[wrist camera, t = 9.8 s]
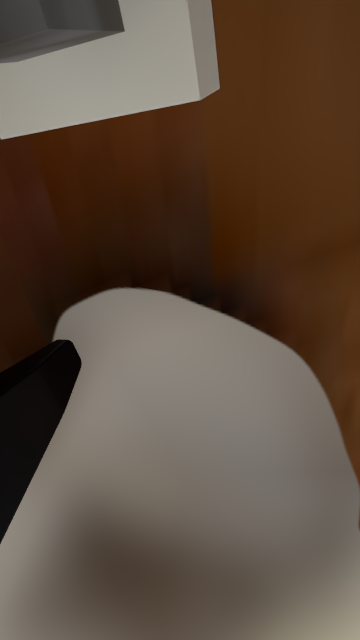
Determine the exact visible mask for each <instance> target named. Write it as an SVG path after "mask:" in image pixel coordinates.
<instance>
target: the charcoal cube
mask: <svg viewBox="0 0 360 640" xmlns="http://www.w3.org/2000/svg"><path fill="white" fill-rule="evenodd" d="M121 32H125V29H124V24H123V20H122V15H121V11H120V6H119V1H118V0H0V63H11V62H19V61H23V60H26V59H30V58H33V57H37V56H40V55H44V54H47V53H51V52H54V51H58V50H61V49H65V48H68V47H72V46H75V45H79V44H82V43H86V42H89V41H93V40H96V39H100V38H103V37H107V36H110V35H114V34H118V33H121Z"/></svg>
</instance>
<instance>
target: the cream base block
mask: <svg viewBox="0 0 360 640" xmlns="http://www.w3.org/2000/svg"><path fill="white" fill-rule="evenodd" d="M118 1H119V6H120V11H121V15H122V20H123V24H124V29H125V32H121V33H118V34H114V35H110V36H107V37H103V38H100V39H96V40H93V41H89V42H86V43H82V44H79V45H75V46H72V47H68V48H65V49H61V50H58V51H54V52H51V53H47V54H44V55H40V56H37V57H33V58H30V59H26V60H23V61H19V62H11V63H0V138H1V139H6V138H11V137H16V136H21V135H26V134H31V133H36V132H41V131H46V130H51V129H57V128H62V127H67V126H72V125H77V124H82V123H87V122H92V121H97V120H102V119H107V118H112V117H117V116H122V115H127V114H132V113H137V112H142V111H147V110H153V109H158V108H163V107H168V106H173V105H178V104H183V103H188V102H193V101H198V100H201V99H203V98H205V97H206V96H208V95H210V94H211V93H213V92H215V91H216V90H218V89H220V85H219V75H218V65H217V54H216V44H215V34H214V24H213V14H212V4H211V0H118Z"/></svg>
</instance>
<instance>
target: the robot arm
mask: <svg viewBox="0 0 360 640" xmlns="http://www.w3.org/2000/svg"><path fill="white" fill-rule="evenodd" d="M80 368H81V359H80V357H79V355H78V353H77V351H76V349H75V347H74V345H73V343H72V342H71V341H70V340H56V341H54V342H52V343H50V344H49V345H47V346H45V347H44V348H42V349H40V350H38V351H37V352H35V353H33V354H32V355H30V356H28V357H27V358H25V359H23V360H21V361H20V362H18V363H16V364H15V365H13V366H11V367H9V368H8V369H6V370H4V371H3V372H1V373H0V544H1V541H2V539H3V537H4V535H5V533H6V531H7V529H8V527H9V525H10V523H11V521H12V519H13V517H14V515H15V513H16V511H17V509H18V506H19V504H20V502H21V500H22V498H23V496H24V494H25V492H26V490H27V488H28V486H29V484H30V482H31V480H32V478H33V476H34V473H35V472H36V470H37V468H38V465H39V463H40V461H41V459H42V457H43V455H44V453H45V451H46V449H47V447H48V445H49V443H50V441H51V439H52V437H53V435H54V433H55V430H56V428H57V426H58V424H59V422H60V420H61V418H62V416H63V414H64V411H65V409H66V406H67V404H68V401H69V398H70V396H71V393H72V390H73V388H74V385H75V382H76V380H77V377H78V374H79V371H80Z"/></svg>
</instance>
